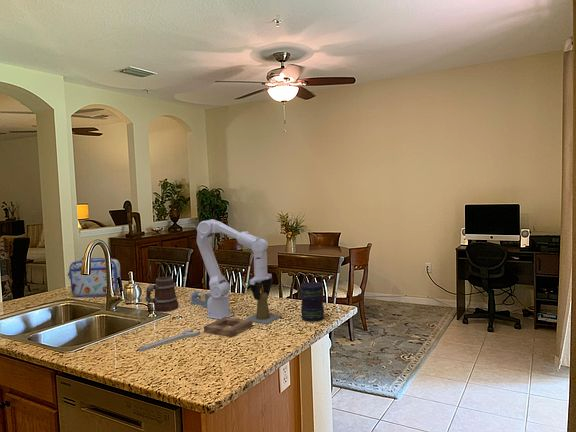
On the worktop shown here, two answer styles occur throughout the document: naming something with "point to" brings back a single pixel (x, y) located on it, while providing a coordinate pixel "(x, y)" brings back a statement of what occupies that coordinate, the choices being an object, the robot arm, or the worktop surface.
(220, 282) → the robot arm
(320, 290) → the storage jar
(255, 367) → the worktop surface
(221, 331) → the walnut holder
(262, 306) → the olive brown rounded piece
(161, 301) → the mug
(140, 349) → the adjustable wrench
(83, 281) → the lunch box
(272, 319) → the rubber mat
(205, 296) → the vise
